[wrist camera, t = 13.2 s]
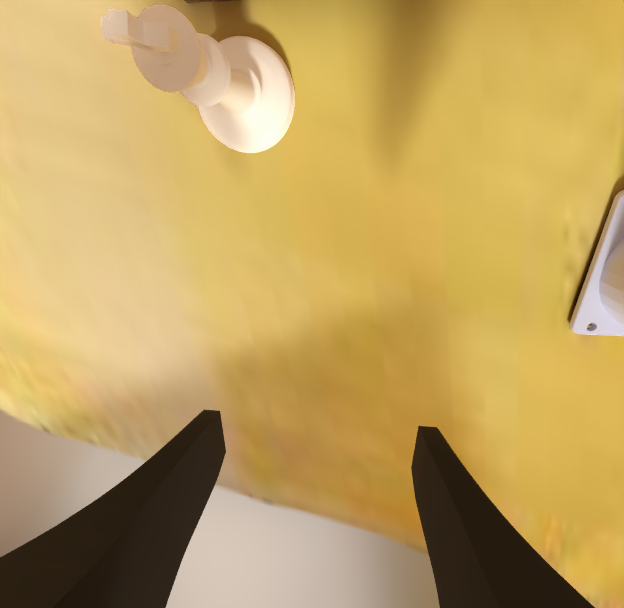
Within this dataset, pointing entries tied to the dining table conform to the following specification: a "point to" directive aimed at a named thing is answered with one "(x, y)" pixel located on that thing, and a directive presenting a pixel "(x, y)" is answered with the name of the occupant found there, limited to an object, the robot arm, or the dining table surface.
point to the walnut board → (202, 0)
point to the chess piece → (210, 74)
